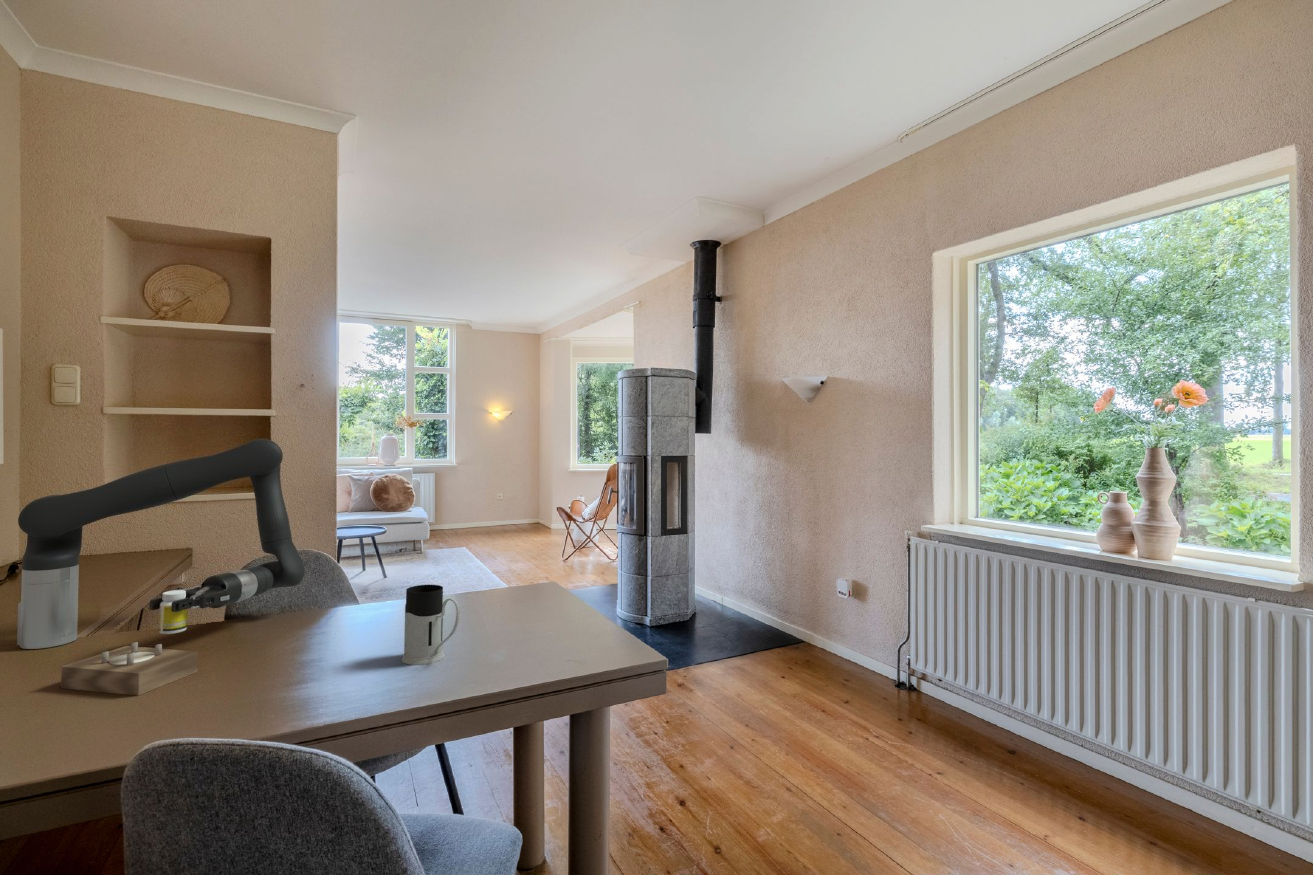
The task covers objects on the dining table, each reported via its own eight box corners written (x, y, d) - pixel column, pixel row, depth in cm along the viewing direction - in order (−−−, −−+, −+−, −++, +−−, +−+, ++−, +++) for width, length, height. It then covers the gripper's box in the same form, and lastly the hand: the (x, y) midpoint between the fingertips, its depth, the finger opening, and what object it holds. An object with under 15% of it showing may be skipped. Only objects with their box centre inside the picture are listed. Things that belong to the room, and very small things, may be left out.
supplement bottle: (192, 629, 135) (193, 590, 135) (168, 635, 130) (170, 595, 131) (176, 626, 137) (178, 588, 137) (153, 632, 132) (154, 593, 132)
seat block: (61, 687, 115) (61, 655, 116) (125, 665, 127) (126, 636, 127) (138, 695, 113) (139, 662, 113) (197, 671, 125) (198, 641, 125)
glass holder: (424, 648, 141) (425, 582, 141) (472, 658, 134) (473, 589, 134) (392, 660, 133) (393, 590, 133) (442, 672, 126) (443, 598, 127)
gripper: (204, 570, 149) (133, 586, 132) (256, 574, 147) (191, 590, 130) (203, 601, 149) (132, 621, 132) (255, 605, 146) (190, 626, 130)
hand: (162, 606), depth 131 cm, fingers closed on supplement bottle, 4 cm apart
